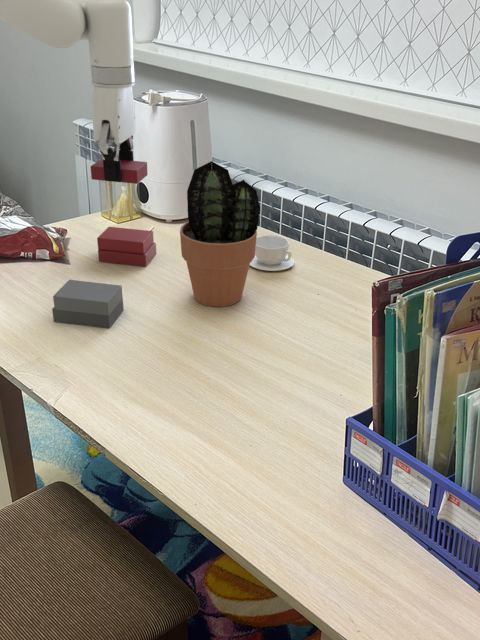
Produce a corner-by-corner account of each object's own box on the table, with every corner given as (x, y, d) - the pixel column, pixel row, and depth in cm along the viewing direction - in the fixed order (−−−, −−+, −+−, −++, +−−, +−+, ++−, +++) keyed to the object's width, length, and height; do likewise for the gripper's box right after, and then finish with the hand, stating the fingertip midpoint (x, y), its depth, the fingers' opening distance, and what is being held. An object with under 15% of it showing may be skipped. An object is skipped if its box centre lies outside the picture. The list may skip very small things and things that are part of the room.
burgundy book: (91, 179, 130) (90, 166, 129) (103, 170, 135) (102, 157, 134) (137, 183, 129) (136, 170, 128) (147, 174, 134) (147, 162, 133)
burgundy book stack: (98, 261, 141) (96, 238, 138) (110, 248, 146) (108, 226, 144) (146, 266, 139) (144, 243, 137) (156, 253, 145) (155, 231, 143)
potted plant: (216, 320, 121) (217, 179, 108) (166, 295, 129) (161, 160, 116) (269, 297, 130) (276, 164, 117) (219, 274, 137) (220, 148, 125)
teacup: (236, 263, 143) (236, 242, 140) (265, 249, 150) (266, 229, 147) (275, 277, 138) (276, 255, 135) (303, 262, 144) (305, 241, 142)
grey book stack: (53, 322, 118) (49, 295, 115) (70, 303, 124) (67, 278, 122) (109, 328, 117) (107, 302, 114) (124, 310, 123) (122, 284, 120)
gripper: (110, 67, 131) (116, 162, 140) (73, 82, 116) (83, 187, 125) (148, 69, 130) (152, 165, 139) (116, 85, 115) (122, 191, 124)
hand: (119, 175), depth 132 cm, fingers closed on burgundy book, 6 cm apart
